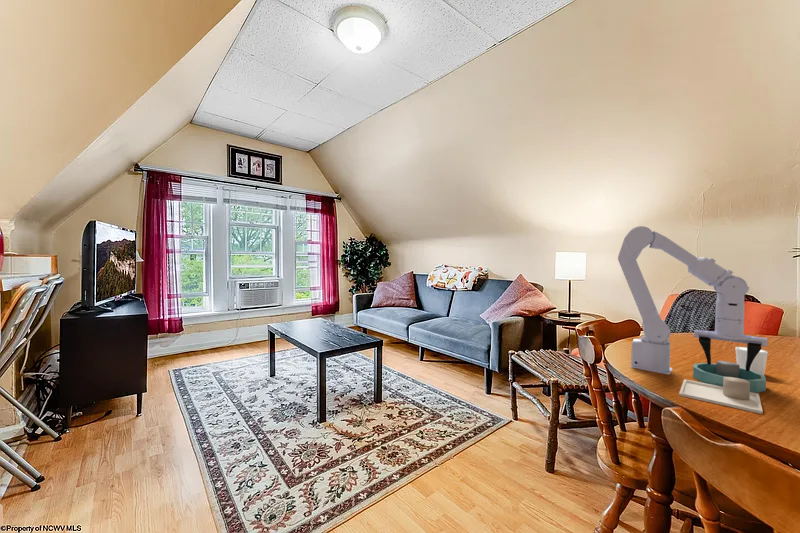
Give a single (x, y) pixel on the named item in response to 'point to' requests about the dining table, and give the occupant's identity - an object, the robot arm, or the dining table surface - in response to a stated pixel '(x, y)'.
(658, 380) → the dining table surface
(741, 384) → the brown stone
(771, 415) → the dining table surface
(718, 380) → the bowl
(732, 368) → the charcoal stone
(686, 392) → the parts tray
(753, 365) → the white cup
